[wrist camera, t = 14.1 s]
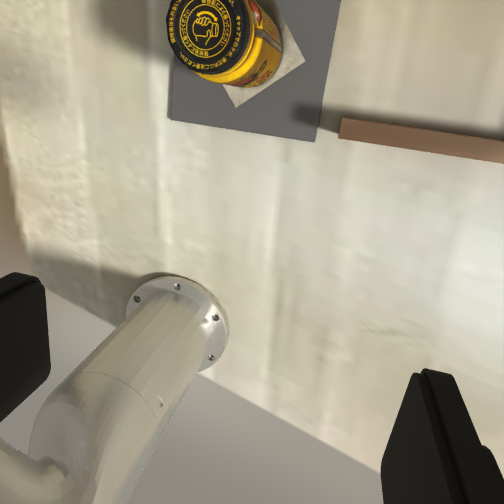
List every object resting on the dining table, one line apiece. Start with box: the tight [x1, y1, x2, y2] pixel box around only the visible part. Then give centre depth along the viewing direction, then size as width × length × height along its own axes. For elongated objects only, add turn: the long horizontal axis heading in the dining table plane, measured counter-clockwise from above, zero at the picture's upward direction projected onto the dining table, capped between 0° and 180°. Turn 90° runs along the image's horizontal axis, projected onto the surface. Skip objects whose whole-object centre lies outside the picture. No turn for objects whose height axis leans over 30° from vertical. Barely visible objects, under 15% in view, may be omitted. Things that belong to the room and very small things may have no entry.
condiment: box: [166, 0, 305, 108], centre depth 29 cm, size 7×8×12 cm
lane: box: [338, 117, 504, 164], centre depth 29 cm, size 14×20×5 cm
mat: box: [171, 0, 341, 142], centre depth 34 cm, size 14×14×1 cm
